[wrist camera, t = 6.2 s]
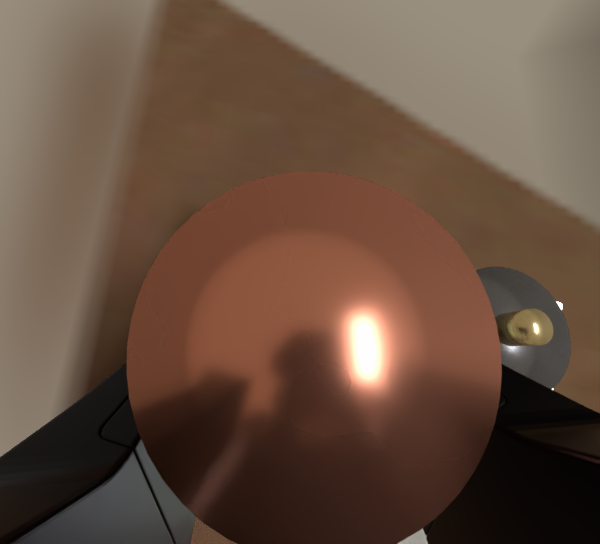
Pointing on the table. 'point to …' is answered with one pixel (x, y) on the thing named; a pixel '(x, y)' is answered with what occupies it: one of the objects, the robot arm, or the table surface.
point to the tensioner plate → (524, 332)
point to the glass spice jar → (314, 363)
